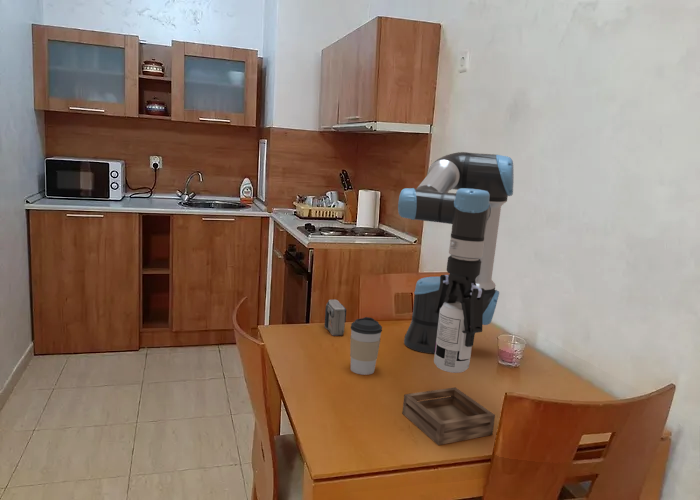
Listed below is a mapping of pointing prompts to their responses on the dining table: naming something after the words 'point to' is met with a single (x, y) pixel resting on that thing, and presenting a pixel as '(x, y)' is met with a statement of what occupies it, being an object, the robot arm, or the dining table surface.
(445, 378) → the dining table surface
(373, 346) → the coffee cup
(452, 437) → the crate
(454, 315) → the supplement can
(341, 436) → the dining table surface
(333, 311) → the camera
